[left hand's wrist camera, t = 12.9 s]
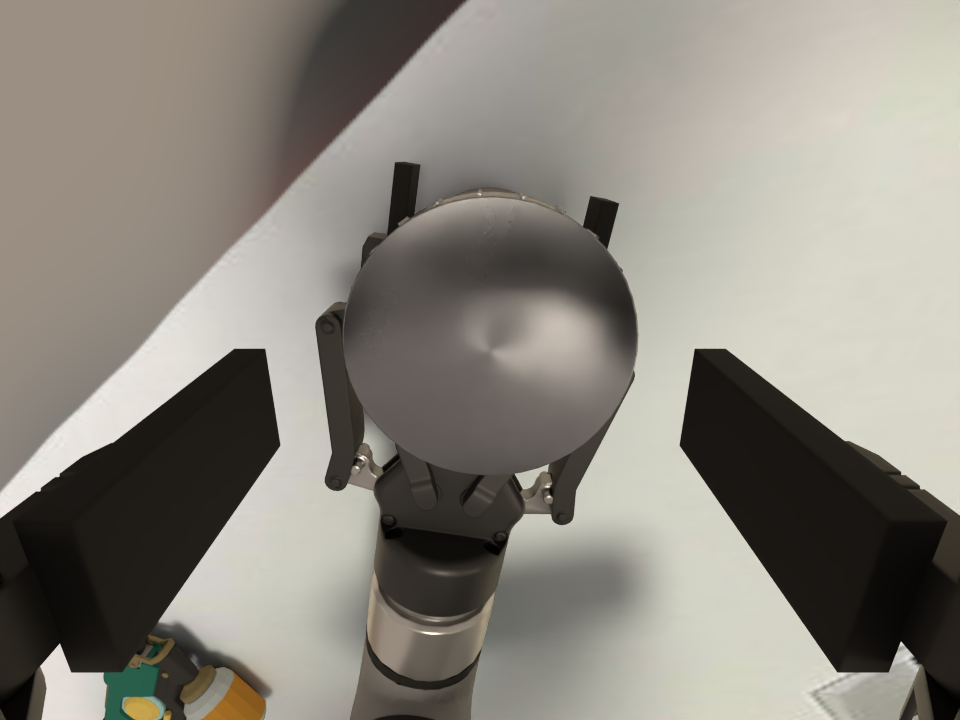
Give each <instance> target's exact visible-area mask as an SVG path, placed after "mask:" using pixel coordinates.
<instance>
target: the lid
mask: <svg viewBox="0 0 960 720" xmlns="http://www.w3.org/2000/svg"><path fill="white" fill-rule="evenodd" d="M565 213H566V211H564V210H563V209H561V208H560V207H558V206H556V207H555V208H554V207H552V206H550V205H548V204H546V203H543V202H541V201H538V200H535V199H533V198H530V197H526V196H525V195H524V194H523V193H521V192H519V193H518V195H517V194H513V193H502V192H482V189H481V190H478V192H477V193H469V194H464V195H459V196H454V197H451V198H448V199H446V200H443V198H440V199H439V200H438V201H437V202H435V204H433V205H431V206H429V207H427V208H425V209H423V210H421V211H419V212H418V213H417V214H415V215H414V216H412V217H411V218H409V217H408V216H407V217H406V218H405V219H403V220H402V221H401V222H399V223H398V225H399V227H397V228H396V229H395V230H394V231H393V232H392V233H391V234H390V235H388V236H387V237H386V238H385V239H384V240H383V241H382V242H381V243H380V244H379V245H378V246H377V247H375V248H374V249H373V250H372V251H370V253H369V254H370V256H369V257H368V259H367V260H366V262H365V264H364V265H363V267H362V269H361V270H360V272H359V273H358V275H357V277H356V280H355V282H354V284H353V286H352V287H351V291H350V294H349V298H348V302H347V305H346V309H345V315H344V323H343V350H344V357H345V363H346V368H347V371H348V374H349V378H350V381H351V384H352V386H353V388H354V390H355V393H356V395H357V397H358V399H359V401H360V402H361V404H362V406H363V407H364V409H365V411H366V412H367V414H368V415H369V416H370V418H371V419H372V420H373V421H374V422H375V424H376V425H377V426H378V427H379V428H380V429H381V430H382V431H383V432H384V433H385V434H386V435H387V436H388V437H389V438H390V439H391V440H392V441H394V442H395V443H396V444H398V445H399V446H400V447H401V448H403V449H404V450H406V451H407V452H409V453H411V454H412V455H414V456H416V457H418V458H419V459H421V460H424V461H426V462H428V463H430V464H433V465H435V466H438V467H441V468H444V469H448V470H451V471H455V472H460V473H466V474H473V475H486V476H489V475H507V474H514V473H521V472H525V471H529V470H532V469H536V468H539V467H542V466H545V465H547V464H550V463H552V462H555V461H557V460H559V459H560V458H562V457H564V456H566V455H568V454H570V453H571V452H573V451H574V450H576V449H577V448H579V447H580V446H581V445H583V444H584V443H586V442H587V441H588V440H589V439H590V438H591V437H592V436H593V435H595V434H596V433H597V432H598V431H599V430H600V429H601V427H602V426H603V425H604V424H605V423H606V422H607V421H608V419H609V418H610V417H611V415H612V414H613V413H614V411H615V410H616V408H617V407H618V405H619V404H620V402H621V400H622V398H623V396H624V394H625V392H626V390H627V388H628V385H629V382H630V379H631V377H632V374H633V371H634V366H635V361H636V356H637V348H638V323H637V314H636V309H635V305H634V300H633V297H632V294H631V291H630V289H629V286H628V283H627V281H626V279H625V277H624V275H623V273H622V272H623V270H622V269H621V268H620V267H619V266H618V264H617V262H616V261H615V260H614V258H613V257H612V256H611V254H610V253H609V252H608V250H607V249H606V248H605V246H603V245H602V244H601V243H600V242H599V241H598V239H599V237H598V236H597V235H596V234H594V233H593V232H591V231H590V230H589V229H587V230H586V229H585V228H584V227H582V226H581V225H580V224H578V223H577V222H576V221H574V220H573V219H572V218H570V217H569V216H567V215H566V214H565Z"/></svg>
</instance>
